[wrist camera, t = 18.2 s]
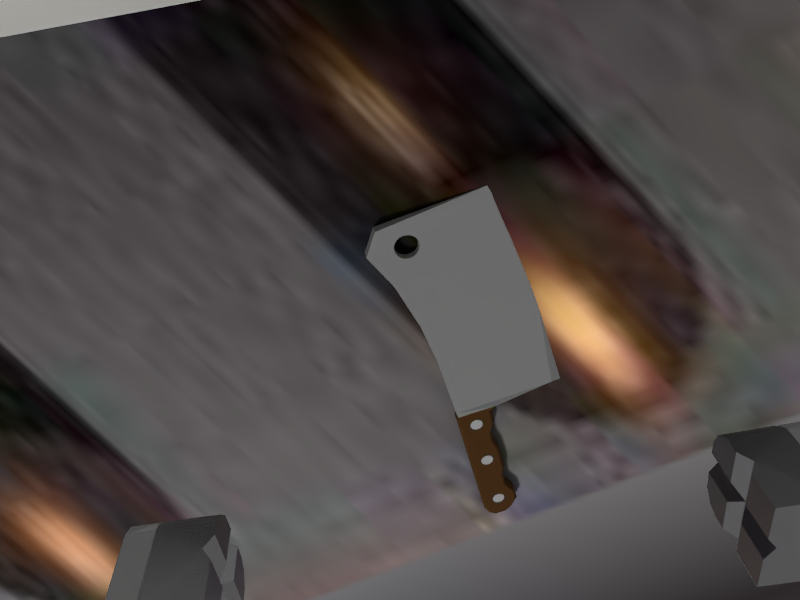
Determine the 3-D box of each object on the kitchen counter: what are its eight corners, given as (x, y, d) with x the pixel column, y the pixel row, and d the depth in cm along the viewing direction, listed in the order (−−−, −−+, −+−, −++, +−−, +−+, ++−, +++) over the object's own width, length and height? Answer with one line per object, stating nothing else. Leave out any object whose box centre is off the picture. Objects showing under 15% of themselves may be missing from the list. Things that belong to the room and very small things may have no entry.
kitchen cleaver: (596, 482, 49) (460, 526, 50) (591, 472, 50) (457, 514, 50) (537, 166, 37) (355, 226, 37) (531, 160, 38) (353, 218, 38)
